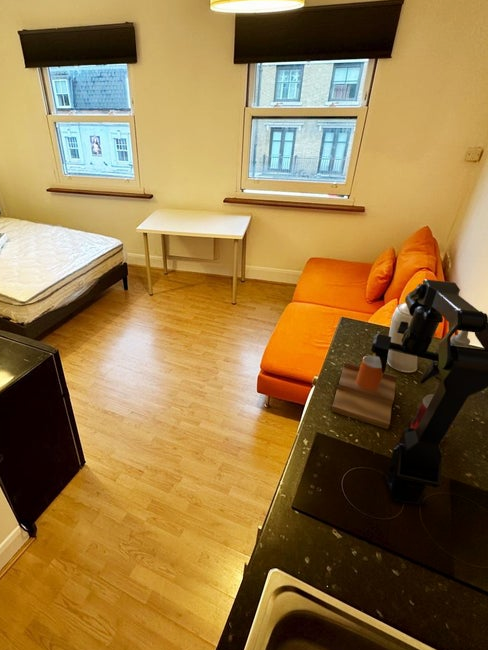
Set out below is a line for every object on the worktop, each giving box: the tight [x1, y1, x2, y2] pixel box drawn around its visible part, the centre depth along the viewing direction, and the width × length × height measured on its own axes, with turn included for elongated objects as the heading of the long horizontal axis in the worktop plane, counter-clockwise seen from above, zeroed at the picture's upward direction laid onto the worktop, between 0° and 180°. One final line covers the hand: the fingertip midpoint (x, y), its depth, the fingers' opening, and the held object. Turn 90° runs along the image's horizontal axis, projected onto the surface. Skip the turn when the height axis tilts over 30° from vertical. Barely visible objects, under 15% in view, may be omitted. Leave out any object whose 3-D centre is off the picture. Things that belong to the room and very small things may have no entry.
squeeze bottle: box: [434, 331, 471, 380], centre depth 116 cm, size 8×8×18 cm
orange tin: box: [356, 355, 388, 390], centre depth 110 cm, size 6×6×8 cm
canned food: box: [410, 394, 460, 443], centre depth 98 cm, size 8×8×11 cm
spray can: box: [387, 302, 418, 373], centre depth 119 cm, size 12×11×25 cm
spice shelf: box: [330, 361, 398, 430], centre depth 110 cm, size 18×15×6 cm
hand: (401, 377), depth 100 cm, fingers open, 9 cm apart
